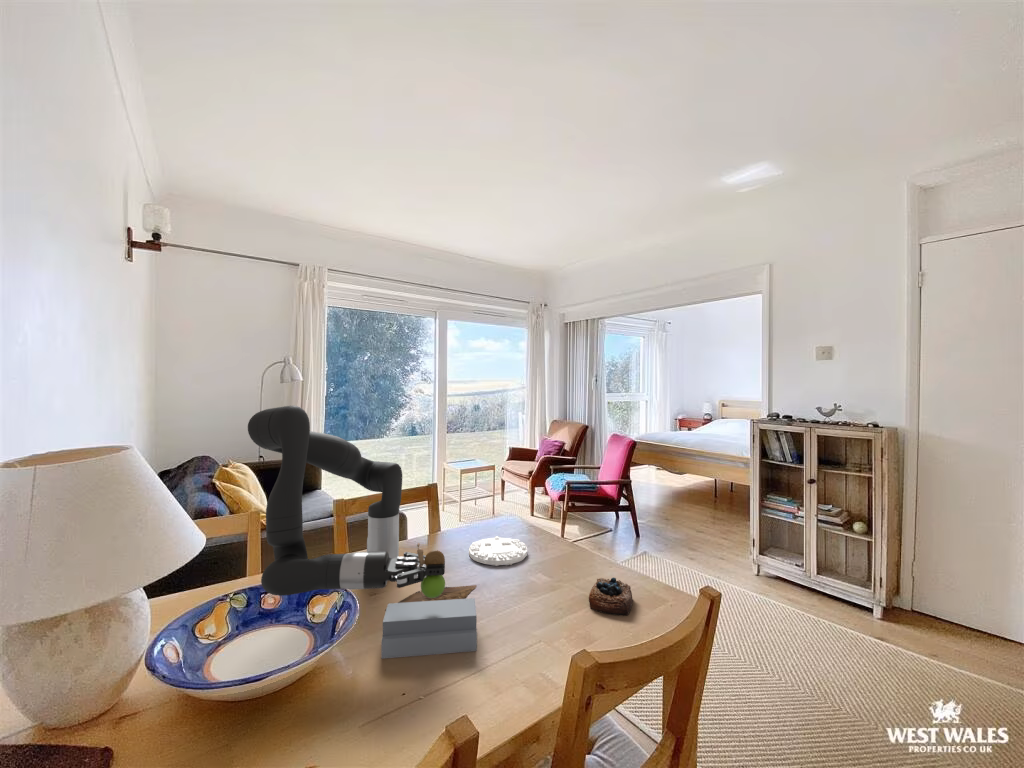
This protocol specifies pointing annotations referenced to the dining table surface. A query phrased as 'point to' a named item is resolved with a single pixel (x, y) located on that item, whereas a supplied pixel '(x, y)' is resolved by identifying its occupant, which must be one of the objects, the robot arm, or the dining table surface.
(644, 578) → the dining table surface
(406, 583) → the robot arm
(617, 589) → the pastry
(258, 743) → the dining table surface
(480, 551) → the embossed medallion
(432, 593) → the snail figurine
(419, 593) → the wooden fragment
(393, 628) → the grey stepped block
